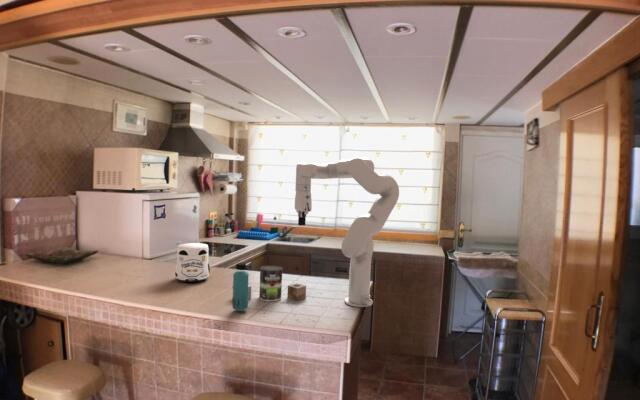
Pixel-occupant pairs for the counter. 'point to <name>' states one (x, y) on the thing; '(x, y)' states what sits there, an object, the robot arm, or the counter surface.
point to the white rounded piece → (192, 262)
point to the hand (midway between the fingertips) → (301, 225)
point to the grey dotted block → (249, 291)
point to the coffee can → (270, 283)
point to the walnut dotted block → (296, 292)
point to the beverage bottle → (240, 288)
